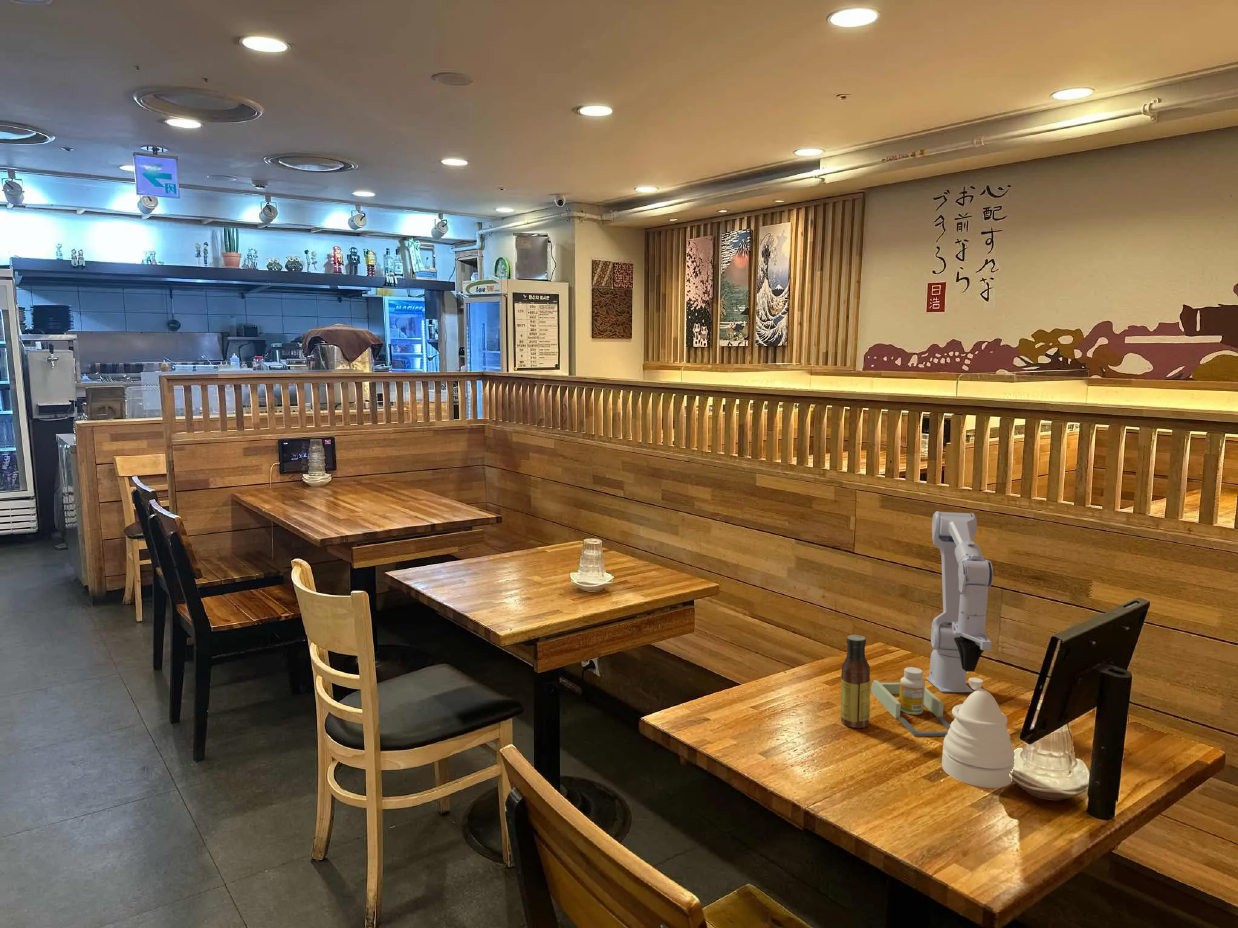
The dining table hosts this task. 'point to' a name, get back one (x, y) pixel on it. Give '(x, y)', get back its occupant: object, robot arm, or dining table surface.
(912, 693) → the supplement bottle
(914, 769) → the dining table surface
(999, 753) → the honey pot
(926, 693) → the pale green open frame
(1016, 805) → the dining table surface
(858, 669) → the sauce bottle
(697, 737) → the dining table surface
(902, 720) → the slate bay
